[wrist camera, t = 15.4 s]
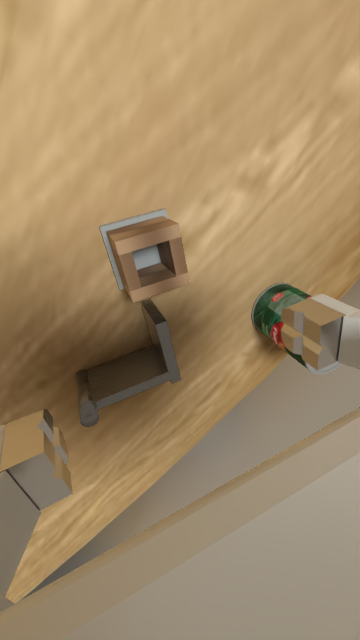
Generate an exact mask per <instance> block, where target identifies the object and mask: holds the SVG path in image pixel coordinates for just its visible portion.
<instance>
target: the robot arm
mask: <svg viewBox="0 0 360 640" xmlns="http://www.w3.org/2000/svg"><path fill="white" fill-rule="evenodd" d="M281 320H282V321H283V322H284V325H283V327H282V329H281V338H282V341H283V343H284V345H285V346H286V347H287V349H288V350H290V351H291V352H292V353H294V354H299V355H302V359H303V361H305V362H306V363H307V364H309V365H310V366H312V367H313V368H314V369H316V370H317V371H318V370H320V369H322V368H324V367H326V366H328V365H331V364H333V363H335V362H337V361H338V363H341V364H344V365H347V366H351V367H354V368H357V369H360V309H359V310H358V309H356V308H354V307H352V306H349V305H347V304H345V303H342V302H340V301H338V300H335V299H333V298H331V297H329V296H326V295H324V294H316V295H313V296H311V297H309V298H307V299H306V300H303V301H301V302H298V303H296V304H294V305H291V306H289V307H287V308H284V309H283V310H282V313H281ZM68 459H69V457H68V450H67V446H66V443H65V440H64V437H63V435H62V433H61V431H60V429H59V428H58V427H54V426H53V419H52V416H51V415H50V413H49V412H48V410H47V409H45V408H44V409H42V410H39V411H37V412H34V413H32V414H29V415H27V416H24V417H21V418H19V419H16V420H14V421H11V422H9V423H7V424H4V425H2V426H0V640H360V407H359V408H358V409H356V410H354V411H352V412H351V413H349V414H347V415H345V416H344V417H342V418H340V419H338V420H337V421H335V422H333V423H331V424H330V425H328V426H326V427H324V428H323V429H321V430H319V431H317V432H316V433H314V434H312V435H310V436H309V437H307V438H305V439H303V440H302V441H300V442H298V443H297V444H295V445H293V446H291V447H289V448H288V449H286V450H284V451H282V452H281V453H279V454H277V455H275V456H274V457H272V458H270V459H268V460H267V461H265V462H263V463H261V464H260V465H258V466H256V467H254V468H253V469H251V470H249V471H247V472H246V473H244V474H242V475H240V476H238V477H237V478H235V479H233V480H231V481H230V482H228V483H226V484H224V485H223V486H221V487H219V488H217V489H216V490H214V491H212V492H210V493H209V494H207V495H205V496H203V497H202V498H200V499H198V500H197V501H195V502H193V503H191V504H189V505H188V506H186V507H184V508H182V509H181V510H179V511H177V512H175V513H174V514H172V515H170V516H168V517H167V518H165V519H163V520H161V521H160V522H158V523H156V524H154V525H152V526H151V527H149V528H148V529H145V530H144V531H142V532H140V533H138V534H137V535H135V536H133V537H131V538H130V539H128V540H126V541H124V542H123V543H121V544H119V545H117V546H116V547H114V548H112V549H111V550H109V551H107V552H105V553H103V554H102V555H100V556H98V557H96V558H95V559H93V560H91V561H89V562H87V563H86V564H84V565H82V566H81V567H79V568H77V569H75V570H74V571H72V572H70V573H68V574H67V575H65V576H63V577H61V578H59V579H58V580H56V581H54V582H52V583H51V584H49V585H47V586H45V587H44V588H42V589H40V590H39V591H37V592H35V593H33V594H31V595H30V596H28V597H26V598H24V599H23V600H21V601H19V602H17V603H16V604H14V603H13V602H11V601H10V600H9V599H7V598H6V597H5V596H6V593H7V591H8V589H9V586H10V584H11V582H12V579H13V577H14V575H15V572H16V570H17V567H18V565H19V563H20V560H21V558H22V556H23V553H24V551H25V549H26V546H27V544H28V542H29V539H30V537H31V534H32V532H33V530H34V527H35V525H36V523H37V520H38V518H39V516H40V513H41V512H40V511H41V510H43V509H45V508H46V507H48V506H50V505H52V504H54V503H56V502H58V501H60V500H61V499H63V498H65V497H67V496H69V495H71V494H72V485H71V475H70V471H69V470H68V468H67V466H66V463H67V461H68Z"/></svg>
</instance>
